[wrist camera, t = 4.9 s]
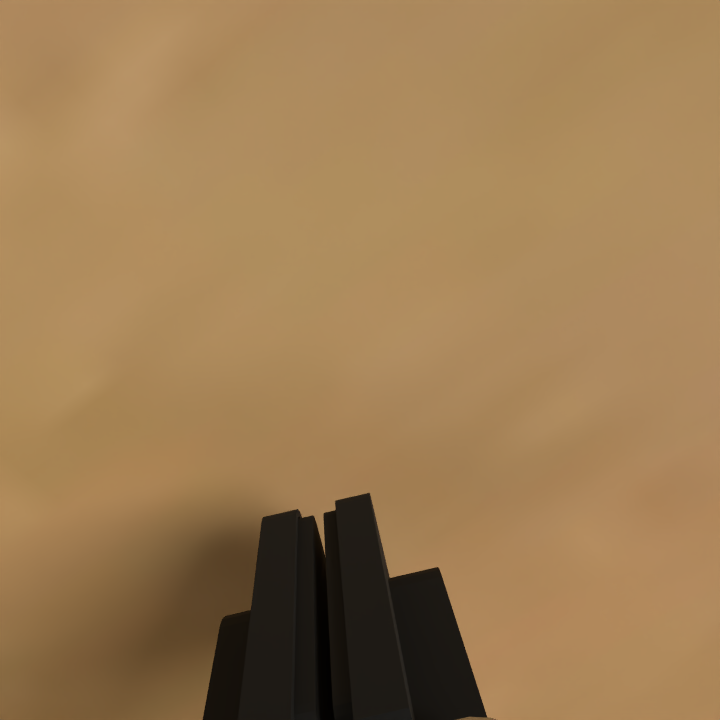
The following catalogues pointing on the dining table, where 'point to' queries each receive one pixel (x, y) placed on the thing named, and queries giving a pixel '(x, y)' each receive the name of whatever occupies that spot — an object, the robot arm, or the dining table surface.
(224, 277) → the dining table surface
